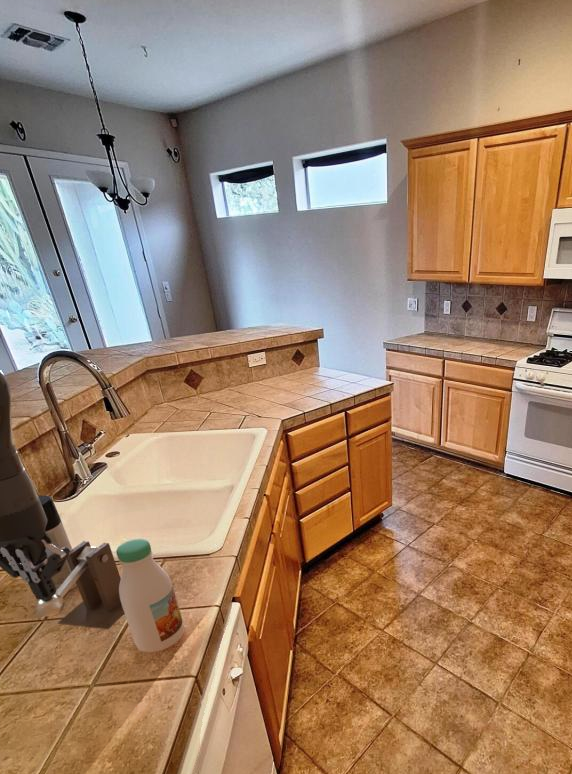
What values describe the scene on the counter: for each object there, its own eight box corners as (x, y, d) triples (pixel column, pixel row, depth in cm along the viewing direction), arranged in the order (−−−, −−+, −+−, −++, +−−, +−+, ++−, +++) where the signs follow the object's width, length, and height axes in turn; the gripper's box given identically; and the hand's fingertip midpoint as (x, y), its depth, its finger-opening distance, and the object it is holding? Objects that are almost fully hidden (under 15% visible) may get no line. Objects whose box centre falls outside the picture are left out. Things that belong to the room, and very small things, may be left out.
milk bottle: (146, 664, 71) (113, 566, 62) (130, 640, 76) (96, 546, 67) (193, 638, 76) (168, 545, 67) (175, 617, 81) (149, 527, 72)
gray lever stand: (110, 633, 77) (86, 571, 71) (59, 627, 78) (32, 566, 72) (152, 590, 88) (135, 533, 82) (107, 585, 89) (87, 528, 83)
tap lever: (58, 621, 70) (45, 610, 68) (38, 619, 70) (25, 607, 68) (108, 557, 80) (99, 545, 77) (91, 556, 80) (81, 543, 78)
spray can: (93, 579, 90) (61, 495, 82) (65, 600, 84) (28, 513, 76) (65, 575, 91) (31, 492, 82) (36, 596, 85) (-4, 509, 76)
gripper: (67, 494, 64) (101, 585, 72) (-11, 488, 66) (31, 578, 74) (22, 519, 58) (64, 617, 65) (-64, 512, 59) (-12, 608, 67)
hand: (46, 596), depth 69 cm, fingers closed
